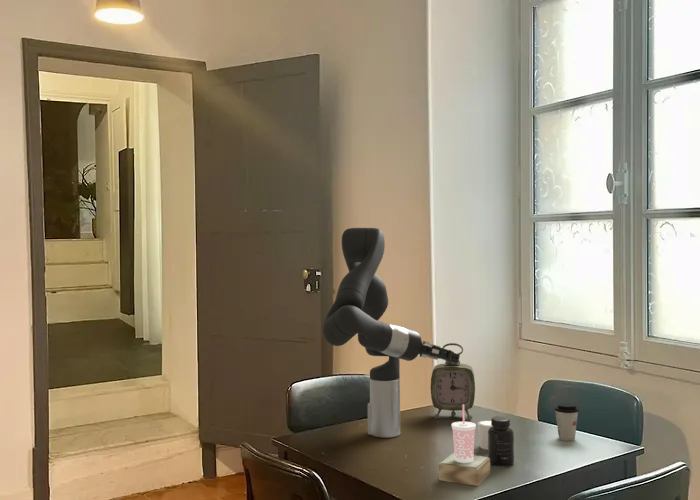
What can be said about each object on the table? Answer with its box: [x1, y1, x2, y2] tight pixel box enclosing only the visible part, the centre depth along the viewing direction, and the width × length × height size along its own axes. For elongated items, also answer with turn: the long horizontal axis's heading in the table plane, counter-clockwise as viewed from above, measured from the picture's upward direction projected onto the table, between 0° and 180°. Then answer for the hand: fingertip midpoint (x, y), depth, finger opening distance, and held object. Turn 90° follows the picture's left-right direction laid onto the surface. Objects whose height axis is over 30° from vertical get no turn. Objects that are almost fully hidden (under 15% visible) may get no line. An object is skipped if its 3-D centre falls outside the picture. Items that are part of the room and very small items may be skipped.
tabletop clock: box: [430, 342, 476, 421], centre depth 242 cm, size 14×9×25 cm, turn 81°
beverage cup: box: [451, 404, 477, 463], centre depth 182 cm, size 6×6×14 cm
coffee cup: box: [553, 402, 580, 442], centre depth 216 cm, size 7×7×10 cm
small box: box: [438, 452, 491, 487], centre depth 182 cm, size 10×10×4 cm
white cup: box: [477, 419, 492, 451], centre depth 208 cm, size 7×7×7 cm
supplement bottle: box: [487, 415, 515, 467], centre depth 193 cm, size 7×7×12 cm
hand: (447, 356), depth 186 cm, fingers open, 8 cm apart
